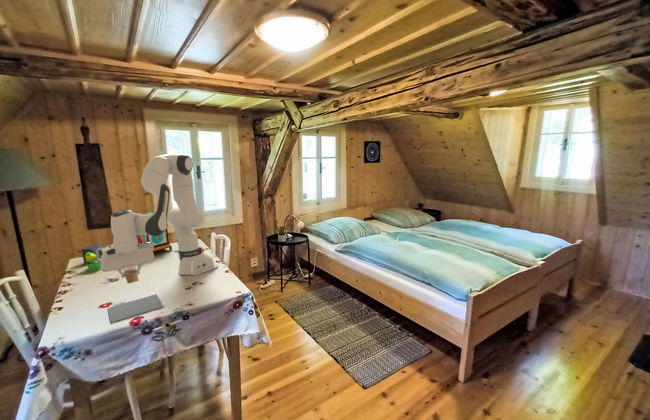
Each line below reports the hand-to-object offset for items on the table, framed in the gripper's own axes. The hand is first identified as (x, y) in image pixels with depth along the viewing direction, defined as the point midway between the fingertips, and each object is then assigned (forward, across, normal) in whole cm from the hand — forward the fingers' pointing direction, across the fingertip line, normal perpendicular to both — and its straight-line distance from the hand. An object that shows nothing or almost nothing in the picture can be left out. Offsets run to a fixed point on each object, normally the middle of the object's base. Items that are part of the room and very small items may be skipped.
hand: (130, 275), depth 132 cm
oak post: (-1, 0, +7) cm, 7 cm away
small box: (+16, +12, -95) cm, 97 cm away
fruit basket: (+16, +12, -77) cm, 80 cm away
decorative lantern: (+16, -23, -88) cm, 93 cm away
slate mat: (+16, 0, 0) cm, 16 cm away
